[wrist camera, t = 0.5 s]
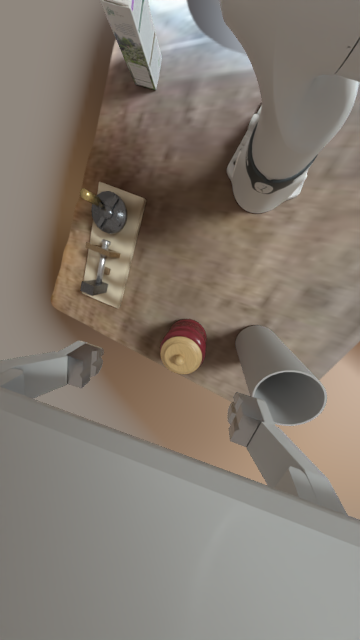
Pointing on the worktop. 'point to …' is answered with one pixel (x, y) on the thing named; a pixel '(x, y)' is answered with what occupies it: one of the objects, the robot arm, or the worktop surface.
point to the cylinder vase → (279, 377)
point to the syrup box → (135, 38)
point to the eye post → (102, 250)
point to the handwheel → (107, 210)
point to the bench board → (115, 248)
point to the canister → (184, 347)
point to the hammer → (97, 285)
